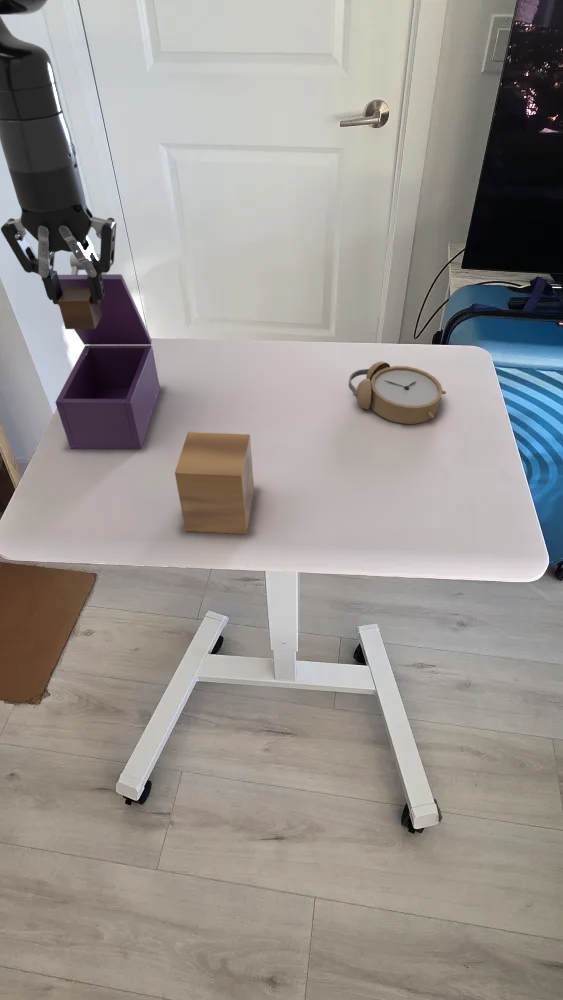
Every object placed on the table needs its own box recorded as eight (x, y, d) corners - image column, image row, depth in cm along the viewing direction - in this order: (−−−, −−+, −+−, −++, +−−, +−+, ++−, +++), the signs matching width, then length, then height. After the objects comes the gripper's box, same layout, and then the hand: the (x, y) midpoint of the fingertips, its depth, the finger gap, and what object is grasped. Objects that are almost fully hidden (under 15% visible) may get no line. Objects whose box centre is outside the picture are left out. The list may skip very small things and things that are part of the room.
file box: (141, 449, 93) (130, 402, 88) (70, 448, 94) (54, 402, 88) (160, 390, 105) (152, 345, 99) (96, 389, 105) (85, 345, 100)
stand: (246, 534, 80) (241, 475, 73) (185, 531, 81) (174, 472, 74) (254, 492, 86) (250, 434, 79) (197, 489, 87) (187, 431, 80)
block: (95, 329, 83) (88, 300, 80) (65, 329, 83) (57, 300, 80) (102, 315, 86) (96, 287, 83) (73, 315, 86) (66, 287, 83)
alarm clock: (433, 417, 92) (341, 380, 95) (423, 441, 96) (334, 405, 99) (452, 378, 100) (366, 345, 103) (442, 402, 103) (359, 370, 106)
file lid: (121, 279, 83) (125, 244, 84) (41, 279, 83) (46, 245, 85) (151, 344, 99) (154, 314, 100) (84, 344, 99) (87, 315, 101)
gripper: (-34, 169, 68) (15, 315, 80) (95, 168, 67) (126, 315, 79) (-8, 150, 74) (34, 289, 85) (111, 148, 73) (138, 289, 85)
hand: (78, 301), depth 82 cm, fingers open, 4 cm apart
